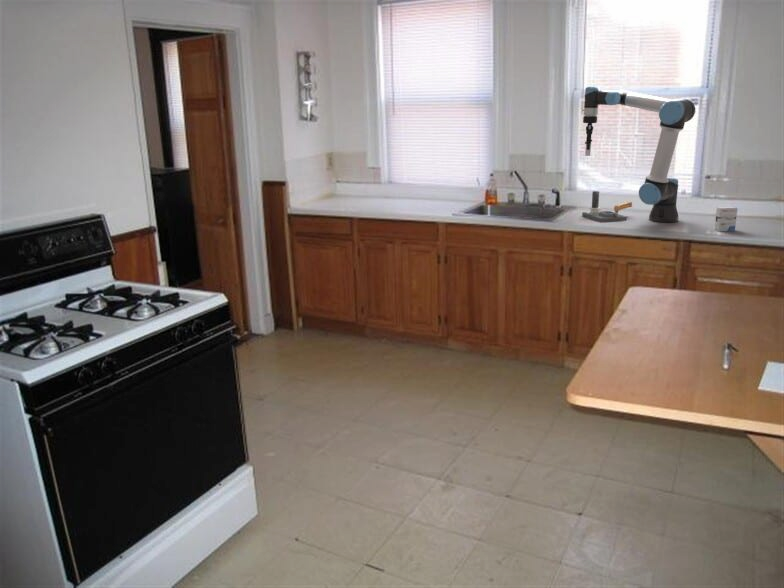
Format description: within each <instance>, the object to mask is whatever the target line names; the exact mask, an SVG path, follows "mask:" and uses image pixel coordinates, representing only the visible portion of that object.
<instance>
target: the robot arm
mask: <svg viewBox="0 0 784 588" xmlns="http://www.w3.org/2000/svg"><path fill="white" fill-rule="evenodd" d="M583 103H584V105H583V109H582V112H583V118H582V122H583V124H587V125H586V126H585V130H586V131H585V134H586V138H585V139H586V140H585V142H584V144H585V152H584V156H585V157H591V150H592V149H591V148H592V142H593V139H592V134H593V132H594V131H593V130H594V126H593V124H597V123H598V116H597V115H598V114H599V106H600V105H601V106H617V105H621V106H626V107H631V108H636V109H640V110H645V111H649V112H654V113H658V119H660V122H659V127H660V128H661V131H660V134H659V138H658V141H657V146H656V150H655V153H654V158H653V160H652V165H651V169H650V172H649V174H648V175H647V176H646V177H645V179H644V183H643V184H642V185H641V186H640V187H639V189H638V198H639V199H640V200H641V202H642V203H644V204H645V205H647V206H652V208H651V211H650V213H649V215H648V220H649V221H652V222H657V223H676V222H678V221H679V213H678V209H677V200H678V192H679V179H677V178H672V177H668V174H669V169H670V167H671V163H672V160H673V156H674V153H675V150H676V146H677V141H678V138H679V134H680V132H681V131H682V130H684V128H685V124H686V123H687V122H689V121H691V120H692V119H693V118H694V116H695V114H696V106H695V104H694V103H693V101H691V100H690V99H681V98H673V99H670V98H663V97H659V96H653V95H648V94H642V93H638V92H633V91H629V90H626V89H620V90H619V89H617V90H601V89H600V87H599V86H587V87H585V91H584V102H583Z"/></svg>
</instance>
